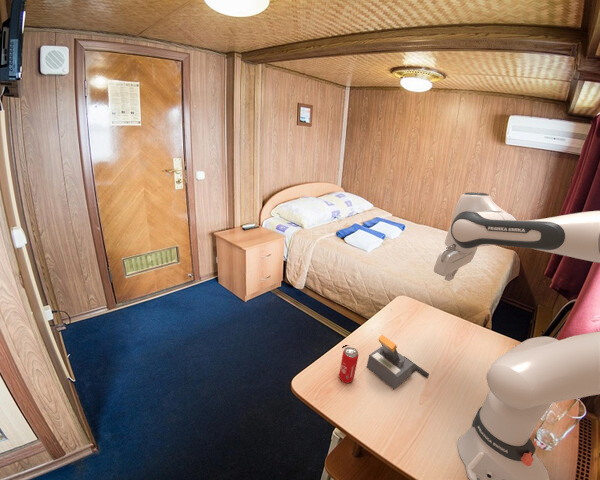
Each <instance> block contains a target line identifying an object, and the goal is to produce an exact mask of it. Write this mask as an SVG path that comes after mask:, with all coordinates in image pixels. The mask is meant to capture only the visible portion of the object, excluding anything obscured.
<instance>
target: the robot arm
mask: <svg viewBox="0 0 600 480" xmlns="http://www.w3.org/2000/svg"><path fill="white" fill-rule="evenodd" d="M451 218H452V219H451V220H452V221H451V224H450V226H449V227H448V230H447V232H446V233H447V234H446V237H445V241H444V245H445V246H446V247H445V249H442V250H441V251H440V252H439V253H438V256H437V259H436V261H435V264H434V267H433V272H434V273H435V274H437V275H440V276H442V277H444V280H445V281H447V282H450V281H451V280H454V278H455V276H456V274H457V273H458V271H459V269H460V268H462V267H464V266H466V265H468V264H469V263H471V262H472V261H473V259H474V256H475V254H476V253H477V249H478V248H479V247H488V246H503V247H513V248H514V247H515V248H523V249H532V250H536V251H540V252H541V251H542V252H545V253H551V254H554V255H555V254H556V255H559V256H565V257H568V258H569V257H571V258H574V259H579V260H584V261H589V262H593V263H599V264H600V210H593V211H581V212H575V213H569V214H564V215H558V216H552V217H547V218H546V217H545V218H540V219H539V218H538V219H529V220H517V218H516V217H515V216H514V215H513V214H512V213H510V212H507V211H506V210H504V209H502V208H501V207H500V206H499V205H498V204H497V203H495V202H494V201H493V198H492V196H491V195H490V194H489V193H485V192H473V191H472V192H470V191H469V192H464V193H463V194H461V195H460V197H459V198H458V200H457V203H456V205H455V208H454V209H453V213H452V217H451ZM486 383H487V387H488V388H489V390H488V393H487V395H486V397H485V398H484V401H483V404H482V405H481V406H480V407H479V408H478V410H476V412H475V415H474V417H473V419H472V423H471V426H470V427H469V429H468V430H467V431H466V432H465V433H464V434H462V435H461V436H460V437H459V439H458V440H457V441H458V442H457V452H458V455H459V457H460V458H461V461H462V462H463V463H462V464H464V466H465V472H466V475H467V478H468V479H469V480H550V477H549V472H548V470H547V468H546V467H545V466H544V464H543V463H542V462H541V460H540V459H539V457H538V456H537V454H536V446H537V445H538V444H537V443H538V441H537V439H535V440H534V442H533V441H532V439H531V436H532V435H533V433H534V431H535V430H536V428H537V426H538V424H539V422H540V421H541V420H542V418H543V417H544V415H545V414H546V413H547V411H548V410H549V409H550V407H551V406H552V404H553V403H559V402H565V401H570V400H575V399H580V398H586V397H589V396H590V397H591V396H596V395H600V330H599V331H593V332H588V333H582V334H577V335H572V336H569V337H566V338H563V339H560V340H559V339H557V338H555V337H553V336H552V337H551V336H546V335H545V336H538V337H531V338H527V339H526V340H524V341H522V342H521V343H519V344H518V345H515V346H514V347H513V348H511V349H509V350H508V351H507V352H505V353H503V354H501V355H500V356H498V357H497V358H496V359H495V360H494V362H492V363H491V365H490V367H489V369H488V370H487V372H486Z"/></svg>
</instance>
